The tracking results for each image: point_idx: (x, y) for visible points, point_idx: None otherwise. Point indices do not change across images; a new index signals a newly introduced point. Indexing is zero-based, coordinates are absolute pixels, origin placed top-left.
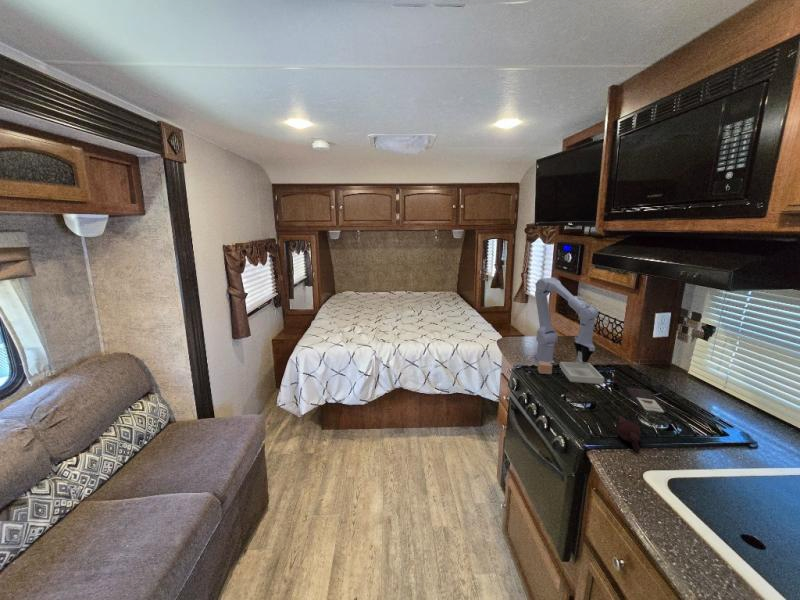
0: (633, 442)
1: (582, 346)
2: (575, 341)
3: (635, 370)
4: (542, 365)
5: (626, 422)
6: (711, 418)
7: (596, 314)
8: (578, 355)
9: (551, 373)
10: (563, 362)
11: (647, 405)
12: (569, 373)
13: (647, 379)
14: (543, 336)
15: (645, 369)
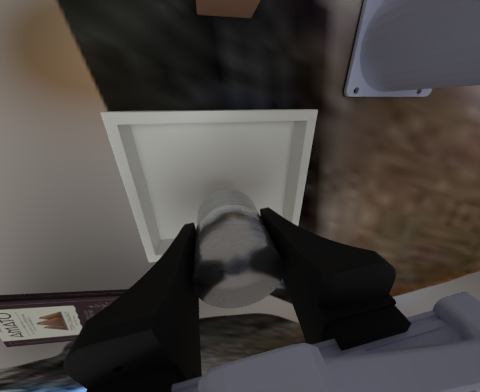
0: None
1: (304, 308)
2: (294, 382)
3: (280, 322)
4: None
5: None
6: (51, 387)
7: None
8: (223, 221)
9: (197, 11)
10: (305, 128)
11: (20, 319)
12: (139, 113)
13: (229, 333)
14: None
15: (287, 336)
